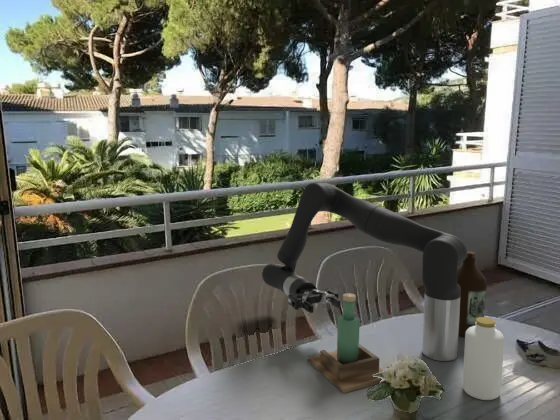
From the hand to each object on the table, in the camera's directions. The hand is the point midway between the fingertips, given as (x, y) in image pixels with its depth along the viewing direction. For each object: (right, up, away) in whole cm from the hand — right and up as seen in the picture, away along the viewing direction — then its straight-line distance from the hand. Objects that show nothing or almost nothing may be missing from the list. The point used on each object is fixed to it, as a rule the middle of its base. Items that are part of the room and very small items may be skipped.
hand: (325, 306), depth 131 cm
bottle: (+5, -14, -8) cm, 17 cm away
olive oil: (+44, -11, +14) cm, 48 cm away
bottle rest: (+5, -15, -8) cm, 17 cm away
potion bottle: (+35, -17, -19) cm, 43 cm away
